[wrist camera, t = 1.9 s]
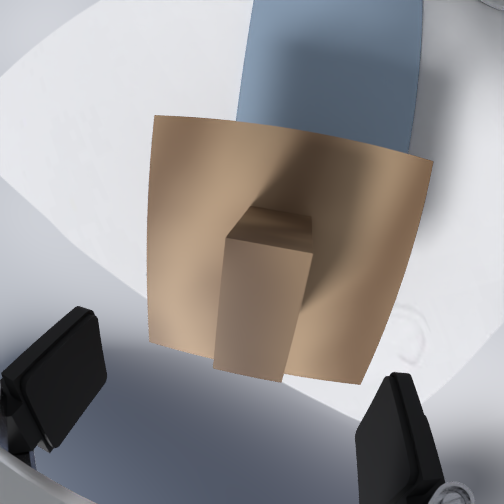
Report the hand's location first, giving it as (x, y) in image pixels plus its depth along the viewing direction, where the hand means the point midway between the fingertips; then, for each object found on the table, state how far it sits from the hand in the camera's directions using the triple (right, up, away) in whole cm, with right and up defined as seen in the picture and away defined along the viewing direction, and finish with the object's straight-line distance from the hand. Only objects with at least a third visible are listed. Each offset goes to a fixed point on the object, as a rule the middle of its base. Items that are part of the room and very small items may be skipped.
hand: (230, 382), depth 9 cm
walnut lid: (+2, +4, +8) cm, 9 cm away
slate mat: (+7, +21, +12) cm, 25 cm away
